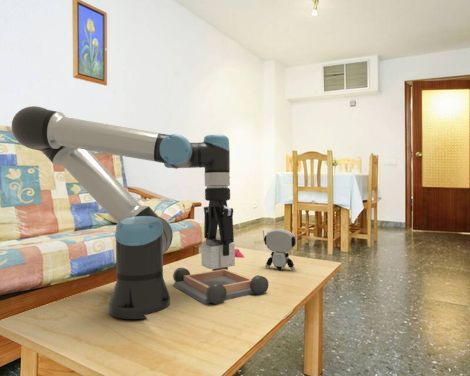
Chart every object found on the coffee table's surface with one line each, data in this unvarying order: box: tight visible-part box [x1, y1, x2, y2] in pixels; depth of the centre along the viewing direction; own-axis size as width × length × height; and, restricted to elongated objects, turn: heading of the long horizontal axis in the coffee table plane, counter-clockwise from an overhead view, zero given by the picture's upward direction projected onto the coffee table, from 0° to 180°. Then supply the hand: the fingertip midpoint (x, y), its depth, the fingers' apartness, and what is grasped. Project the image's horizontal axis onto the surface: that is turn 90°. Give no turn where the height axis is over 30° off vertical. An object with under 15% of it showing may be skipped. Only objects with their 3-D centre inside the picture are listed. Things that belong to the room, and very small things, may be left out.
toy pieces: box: [235, 248, 245, 259], centre depth 145 cm, size 12×11×4 cm
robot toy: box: [262, 228, 297, 272], centre depth 126 cm, size 12×4×15 cm, turn 64°
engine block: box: [200, 237, 236, 270], centre depth 104 cm, size 8×6×8 cm
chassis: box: [172, 267, 269, 305], centre depth 104 cm, size 20×24×5 cm
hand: (218, 264), depth 104 cm, fingers closed on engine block, 6 cm apart
